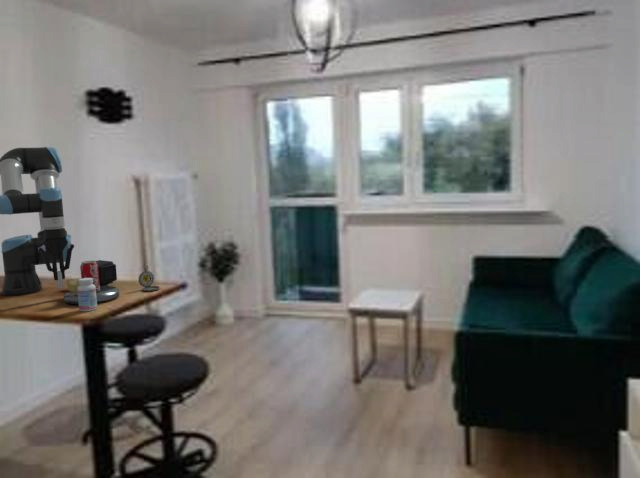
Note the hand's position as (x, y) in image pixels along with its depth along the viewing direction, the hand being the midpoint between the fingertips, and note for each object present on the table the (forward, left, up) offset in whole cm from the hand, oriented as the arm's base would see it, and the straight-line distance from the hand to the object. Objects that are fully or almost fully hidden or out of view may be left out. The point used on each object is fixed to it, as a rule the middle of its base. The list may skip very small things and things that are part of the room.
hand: (60, 288), depth 218 cm
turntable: (+11, +4, -4) cm, 13 cm away
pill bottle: (+25, -7, -5) cm, 27 cm away
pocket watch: (+22, +25, -5) cm, 34 cm away
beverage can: (+13, +4, -2) cm, 14 cm away
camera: (-4, +22, -5) cm, 23 cm away
